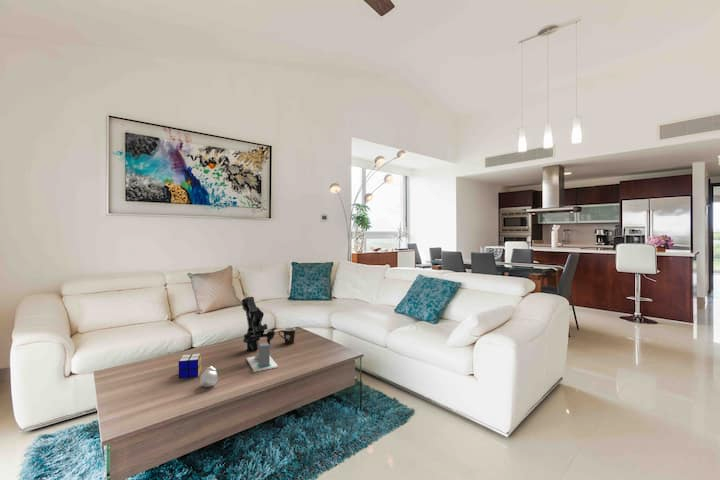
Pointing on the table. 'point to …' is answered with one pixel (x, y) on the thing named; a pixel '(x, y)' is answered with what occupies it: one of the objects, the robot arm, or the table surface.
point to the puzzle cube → (190, 366)
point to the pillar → (264, 354)
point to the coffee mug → (288, 335)
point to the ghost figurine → (209, 377)
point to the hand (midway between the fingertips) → (261, 348)
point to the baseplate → (256, 367)
